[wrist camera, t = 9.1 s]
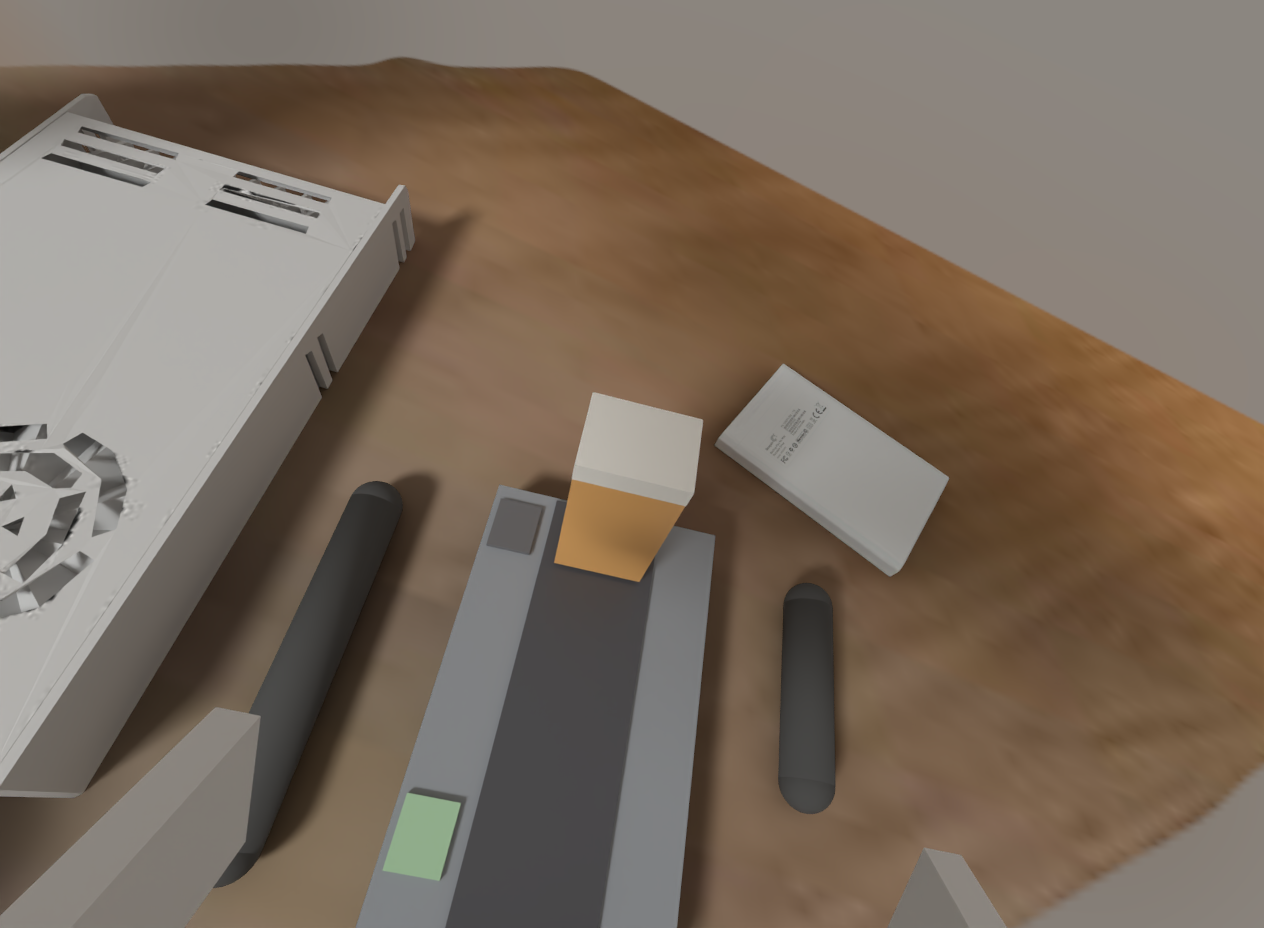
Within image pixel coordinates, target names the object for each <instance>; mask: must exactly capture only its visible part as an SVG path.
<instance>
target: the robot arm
mask: <svg viewBox="0 0 1264 928" xmlns="http://www.w3.org/2000/svg"><path fill="white" fill-rule="evenodd" d="M260 718H261V716H259V715H254V714H249V713H244V712H238V711H233V710H228V709H223V708H218V707H215V708H214V709H213V710H212V711H211V712H210V713H209V714H208V715H207V716H206V717H205V718H204V719H203V720H202V721H201V722H200V723H199V724H198V725H197V726H195V727H194V728H193V729H192V730H191V731H190V732H189V733H188V734H187V735H186V736H185V737H184V738H183V739H182V740H181V741H180V742H179V743H178V744H177V745H176V746H175V747H174V748H173V749H172V750H171V751H170V752H169V753H168V754H167V755H166V756H164V757H163V758H162V759H161V760H160V761H159V762H158V763H157V764H156V765H155V766H154V767H153V768H152V769H151V770H150V771H149V772H148V773H147V774H146V775H145V776H144V777H143V778H142V779H141V780H140V781H139V782H138V783H137V784H136V785H135V786H134V787H132V788H131V789H130V790H129V791H128V792H127V793H126V794H125V795H124V796H123V797H122V798H121V799H120V800H119V801H118V802H117V803H116V804H115V805H114V806H113V807H112V808H111V809H110V810H109V811H108V812H107V813H106V814H105V815H104V816H103V817H101V818H100V819H99V820H98V821H97V822H96V823H95V824H94V825H93V826H92V827H91V828H90V829H89V830H88V831H87V832H86V833H85V834H84V835H83V836H82V837H81V838H80V839H79V840H78V841H77V842H76V843H75V844H74V845H73V846H72V847H71V848H69V849H68V850H67V851H66V852H65V853H64V854H63V855H62V856H61V857H60V858H59V859H58V860H57V861H56V862H55V863H54V864H53V865H52V866H51V867H50V868H49V869H48V870H47V871H46V872H45V873H44V874H43V875H42V876H41V877H40V878H39V879H37V880H36V881H35V882H34V883H33V884H32V885H31V886H30V887H29V888H28V889H27V890H26V891H25V892H24V893H23V894H22V895H21V896H20V897H19V898H18V899H17V900H16V901H15V902H14V903H13V904H12V905H11V906H10V907H9V908H8V909H6V910H5V911H4V912H3V913H2V914H1V915H0V928H184V927H185V926H186V925H187V923H188V922H189V920H190V919H191V918H192V916H193V915H194V913H195V912H196V911H197V909H198V908H199V906H200V905H201V904H202V902H203V901H204V899H205V898H206V897H207V895H208V894H209V892H210V891H211V890H212V888H213V887H214V885H215V884H216V883H217V881H218V880H219V878H220V877H221V876H222V874H223V873H224V871H225V870H226V868H227V867H228V866H229V864H230V863H231V861H232V860H233V859H234V857H235V856H236V854H237V853H238V852H239V850H240V849H241V847H242V846H243V845H244V843H245V842H246V834H247V825H248V817H249V809H250V801H251V792H252V784H253V776H254V767H255V759H256V751H257V743H258V734H259V726H260ZM888 928H1007V927H1006V925H1005V924H1004V922H1003V921H1002V919H1001V917H1000V916H999V914H998V913H997V911H996V910H995V908H994V906H993V905H992V903H991V902H990V900H989V898H988V897H987V895H986V894H985V892H984V890H983V889H982V887H981V886H980V884H979V883H978V881H977V879H976V878H975V876H974V875H973V873H972V871H971V870H970V868H969V867H968V865H967V863H966V862H965V860H964V859H963V857H962V856H961V855H958V854H953V853H948V852H943V851H938V850H933V849H928V848H924V849H923V851H922V853H921V855H920V857H919V860H918V862H917V864H916V866H915V868H914V871H913V873H912V875H911V877H910V879H909V881H908V884H907V886H906V888H905V890H904V892H903V895H902V897H901V899H900V901H899V903H898V906H897V908H896V910H895V912H894V914H893V917H892V919H891V921H890V923H889V925H888Z"/></svg>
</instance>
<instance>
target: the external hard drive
mask: <svg viewBox="0 0 1264 928" xmlns="http://www.w3.org/2000/svg"><path fill="white" fill-rule="evenodd" d="M715 446H716V447H717V448H718V449H720V450H721V451H722V452H724V453H725V454H726V455H728V456H729V457H730V458H732V459H733V460H734V461H736V462H737V463H738V464H740V465H741V466H743V467H744V468H745V469H747V470H748V471H749V472H750V473H752V474H753V475H754V476H756V477H757V478H758V479H760V480H761V481H763V482H764V483H765V484H767V485H768V486H769V487H771V488H772V489H773V490H775V491H776V492H777V493H779V494H780V495H781V496H783V497H784V498H785V499H787V500H788V501H789V502H791V503H792V504H793V505H795V506H796V507H797V508H799V509H800V510H801V511H803V512H804V513H805V514H807V515H808V516H809V517H811V518H812V519H813V520H815V521H816V522H817V523H819V524H820V525H821V526H823V527H824V528H825V529H827V530H828V531H829V532H831V533H832V534H833V535H835V536H836V537H837V538H839V539H840V540H841V541H843V542H844V543H845V544H847V545H848V546H849V547H851V548H852V549H853V550H855V551H856V552H857V553H859V554H860V555H861V556H863V557H864V558H865V559H867V560H868V561H869V562H871V563H872V564H873V565H875V566H876V567H877V568H879V569H880V570H881V571H883V572H884V573H885V574H887V575H888V576H892V575H894V574H896V573H898V572H899V571H900V570H901V568H902V567H903V565H904V563H905V562H906V560H907V558H908V556H909V554H910V552H911V550H912V548H913V547H914V545H915V543H916V541H917V539H918V537H919V535H920V533H921V531H922V530H923V528H924V526H925V524H926V522H927V520H928V518H929V516H930V514H931V513H932V511H933V509H934V507H935V505H936V503H937V501H938V500H939V498H940V496H941V494H942V492H943V490H944V488H945V486H946V484H947V482H948V480H949V477H948V476H946V475H945V474H943V473H942V472H941V471H939V470H938V469H936V468H935V467H933V466H932V465H930V464H929V463H928V462H926V461H925V460H923V459H922V458H920V457H919V456H917V455H916V454H914V453H913V452H911V451H910V450H909V449H907V448H906V447H904V446H903V445H901V444H900V443H898V442H897V441H895V440H894V439H893V438H891V437H890V436H888V435H887V434H885V433H884V432H882V431H881V430H879V429H878V428H877V427H875V426H874V425H872V424H871V423H869V422H868V421H866V420H865V419H864V418H862V417H861V416H859V415H858V414H856V413H855V412H853V411H852V410H850V409H849V408H847V407H846V406H845V405H843V404H842V403H840V402H839V401H837V400H836V399H834V398H833V397H832V396H830V395H829V394H827V393H826V392H824V391H823V390H821V389H820V388H818V387H817V386H815V385H814V384H812V383H811V382H810V381H808V380H807V379H805V378H804V377H802V376H801V375H799V374H798V373H797V372H795V371H794V370H792V369H791V368H789V367H788V366H786V365H785V364H782V365H781V366H780V368H779V369H778V370H777V371H776V372H775V373H774V375H773V376H772V377H771V378H770V379H769V380H768V382H767V383H766V384H765V385H764V386H763V387H762V388H761V390H760V391H759V392H758V393H757V394H756V395H755V396H754V397H753V399H752V400H751V401H750V402H749V403H748V404H747V406H746V407H745V408H744V409H743V410H742V411H741V412H740V413H739V415H738V416H737V417H736V418H735V419H734V420H733V421H732V423H731V424H730V425H729V426H728V427H727V428H726V429H725V430H724V432H723V433H722V434H721V435H720V437H719V438H718V440H717V441H716V443H715Z"/></svg>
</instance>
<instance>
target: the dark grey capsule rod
mask: <svg viewBox="0 0 1264 928" xmlns="http://www.w3.org/2000/svg"><path fill="white" fill-rule="evenodd" d="M778 780H779V787H780V791H781V793H782V795H783V797H784V799H785V800H786V801H787V803H788V804H789V805H790V806H791V807H793V808H794V809H795V810H797V811H799V812H802V813H806V814H815V813H819V812H821V811H823V810H825V809H826V808H827V807H828V806H829V805H830V804H831V802H832V800H833V797H834V794H835V733H834V668H833V608H832V602H831V599H830V597H829V595H828V594H827V593H826V592H825V590H823V589H822V588H821V587H819V586H817V585H815V584H811V583H802V584H798V585H796V586H794V587H793V588H791V589H790V590H789V591H788V593H787V594H786V597H785V599H784V605H783V639H782V673H781V707H780V740H779V774H778Z"/></svg>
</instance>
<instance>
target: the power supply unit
mask: <svg viewBox="0 0 1264 928" xmlns="http://www.w3.org/2000/svg"><path fill="white" fill-rule="evenodd" d="M94 133H96V134H99V136H100V138H101V139H99V138H97V137H96V135H95V134H94ZM133 144H134V145H138V146H141V147H144V148H148V149H149V150H147V151H142V150H139V149H135V147H134V146H133ZM82 145H85V146H87V147H88V149H89V151H90V152H89V153H86V151H85V150H84V148H83V147H82ZM159 152H162V153H165V154H169V155H172V156H176V157H174V158H172V159H171V158H167V157H164V156H160V154H159ZM235 174H238V175H241V176H245V177H248V178H252V179H251V180H250V181H246V180H242V179H239V178H236V176H235ZM260 181H262V182H266V183H269V184H272V185H276V186H277V187H276V188H274V189H273V188H270V187H266V186H263V185H261V183H260ZM285 188H286V189H290V190H293V191H297V192H300V193H304V195H302V196H298V195H294V194H291V193H287V192H286V190H285ZM311 196H314V197H317V198H321V199H324V200H328V201H327V202H325V203H322V202H319V201H315V200H312V197H311ZM414 242H415V236H414V229H413V222H412V215H411V208H410V201H409V194H408V189H407V188H406V186H405V185H398V187H397V188H396V189H395V191H394V192H393V194H392V195H391V197H390V198H389V200H388V201H387V203H386V204H382V203H379V202H375V201H372V200H368V199H365V198H361V197H358V196H355V195H351V194H348V193H344V192H341V191H337V190H334V189H331V188H327V187H324V186H320V185H317V184H313V183H310V182H307V181H303V180H300V179H296V178H293V177H289V176H286V175H282V174H279V173H276V172H272V171H269V170H265V169H262V168H258V167H255V166H252V165H248V164H245V163H241V162H238V161H234V160H231V159H227V158H224V157H221V156H217V155H214V154H210V153H207V152H203V151H200V150H197V149H193V148H190V147H186V146H183V145H179V144H176V143H173V142H169V141H166V140H162V139H159V138H155V137H152V136H148V135H145V134H142V133H138V132H135V131H131V130H128V129H124V128H121V127H118V126H114V124H113V123H112V121H111V119H110V117H109V116H108V114H107V112H106V111H105V109H104V107H103V105H102V104H101V102H100V100H99V98H98V97H97V95H94V94H81V95H79V96H78V97H76V98H75V99H74V100H72V101H71V102H70V103H68V104H67V105H66V106H64V107H63V108H62V109H60V110H59V111H58V112H56V113H55V114H53V115H52V116H51V117H49V118H48V119H47V120H45V121H44V122H43V123H41V124H40V125H39V126H37V127H36V128H35V129H33V130H32V131H30V132H29V133H28V134H26V135H25V136H24V137H22V138H21V139H20V140H18V141H17V142H16V143H14V144H13V145H12V146H10V147H9V148H7V149H6V150H5V151H3V152H2V153H1V154H0V796H6V797H49V798H75V797H77V796H79V795H81V794H83V792H84V791H85V789H86V787H87V786H88V784H89V782H90V781H91V779H92V778H93V776H94V774H95V773H96V771H97V769H98V768H99V766H100V764H101V763H102V761H103V759H104V758H105V756H106V754H107V753H108V751H109V749H110V748H111V746H112V744H113V743H114V741H115V740H116V738H117V736H118V735H119V733H120V731H121V730H122V728H123V726H124V725H125V723H126V721H127V720H128V718H129V716H130V715H131V713H132V711H133V710H134V708H135V706H136V705H137V703H138V701H139V700H140V698H141V696H142V695H143V693H144V691H145V690H146V688H147V686H148V685H149V683H150V682H151V680H152V678H153V677H154V675H155V673H156V672H157V670H158V668H159V667H160V665H161V663H162V662H163V660H164V658H165V657H166V655H167V653H168V652H169V650H170V648H171V647H172V645H173V643H174V642H175V640H176V638H177V637H178V635H179V633H180V632H181V630H182V629H183V627H184V625H185V624H186V622H187V620H188V619H189V617H190V615H191V614H192V612H193V610H194V609H195V607H196V605H197V604H198V602H199V600H200V599H201V597H202V595H203V594H204V592H205V590H206V589H207V587H208V585H209V584H210V582H211V580H212V579H213V577H214V575H215V574H216V572H217V571H218V569H219V567H220V566H221V564H222V562H223V561H224V559H225V557H226V556H227V554H228V552H229V551H230V549H231V547H232V546H233V544H234V542H235V541H236V539H237V537H238V536H239V534H240V532H241V531H242V529H243V527H244V526H245V524H246V522H247V521H248V519H249V518H250V516H251V514H252V513H253V511H254V509H255V508H256V506H257V504H258V503H259V501H260V499H261V498H262V496H263V494H264V493H265V491H266V489H267V488H268V486H269V484H270V483H271V481H272V479H273V478H274V476H275V474H276V473H277V471H278V469H279V468H280V466H281V464H282V463H283V461H284V460H285V458H286V456H287V455H288V453H289V451H290V450H291V448H292V446H293V445H294V443H295V441H296V440H297V438H298V436H299V435H300V433H301V431H302V430H303V428H304V426H305V425H306V423H307V421H308V420H309V418H310V416H311V415H312V413H313V411H314V410H315V408H316V407H317V405H318V403H319V402H320V400H321V398H322V396H321V394H320V391H319V389H318V388H319V387H323V388H326V389H328V387H329V386H330V384H331V382H332V378H331V375H330V372H329V370H331V371H335V372H338V371H339V369H340V368H341V366H342V364H343V363H344V361H345V359H346V358H347V356H348V354H349V352H350V351H351V349H352V347H353V346H354V344H355V342H356V341H357V339H358V337H359V336H360V334H361V332H362V331H363V329H364V327H365V326H366V324H367V322H368V321H369V319H370V317H371V316H372V314H373V312H374V311H375V309H376V307H377V306H378V304H379V302H380V301H381V299H382V297H383V296H384V294H385V292H386V291H387V289H388V287H389V286H390V284H391V282H392V281H393V279H394V277H395V276H396V274H397V272H398V271H399V269H400V268H399V262H398V261H400V262H404V261H405V260H406V258H407V256H406V250H408V251H411V249H412V247H413V245H414Z"/></svg>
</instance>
